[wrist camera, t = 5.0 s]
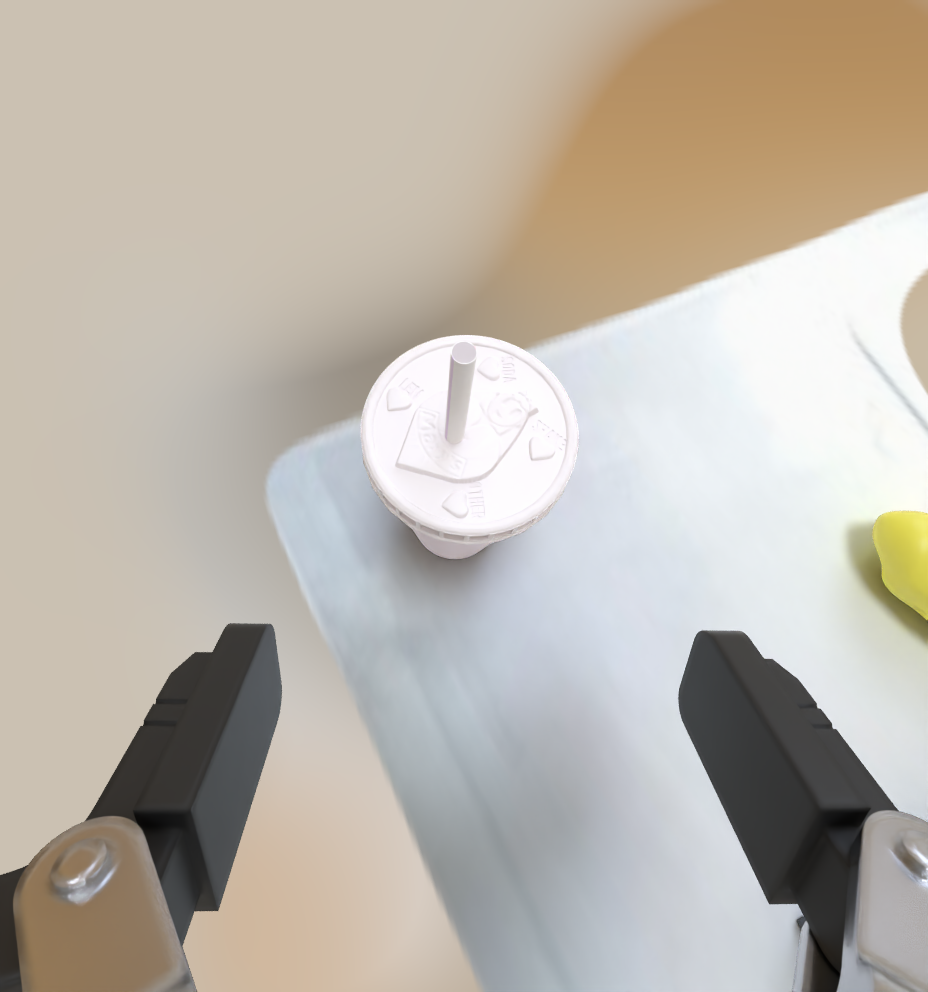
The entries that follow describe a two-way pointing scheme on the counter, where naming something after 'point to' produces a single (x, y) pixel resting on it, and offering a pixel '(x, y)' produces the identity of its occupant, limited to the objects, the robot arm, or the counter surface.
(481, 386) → the smoothie
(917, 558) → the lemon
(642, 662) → the counter surface
